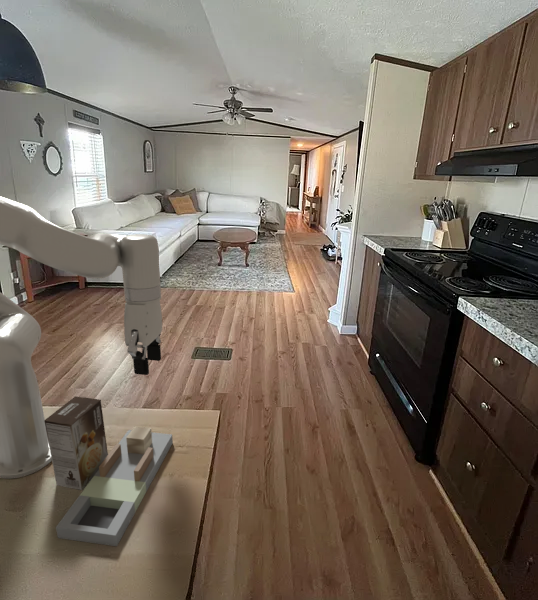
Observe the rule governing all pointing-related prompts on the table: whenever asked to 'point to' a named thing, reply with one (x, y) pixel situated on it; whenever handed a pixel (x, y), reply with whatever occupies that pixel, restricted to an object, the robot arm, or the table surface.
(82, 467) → the coffee box
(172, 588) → the table surface
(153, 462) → the recessed deck with rails
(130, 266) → the robot arm
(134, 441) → the cream block
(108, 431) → the table surface
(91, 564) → the table surface
